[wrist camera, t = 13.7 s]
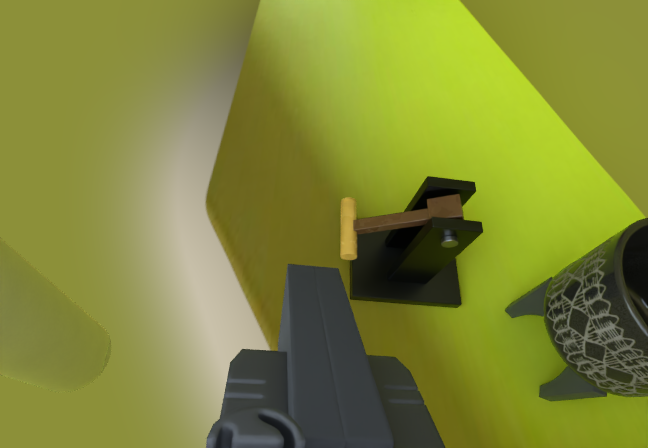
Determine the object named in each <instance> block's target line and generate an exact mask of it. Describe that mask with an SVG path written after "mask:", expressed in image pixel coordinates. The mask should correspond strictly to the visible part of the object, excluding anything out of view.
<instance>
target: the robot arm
mask: <svg viewBox="0 0 648 448" xmlns="http://www.w3.org/2000/svg"><path fill="white" fill-rule="evenodd" d="M206 445H207V446H206V448H445V446H444V443H443V441H442V439H441V437H440V435H439V433H438V431H437V428H436V426H435V424H434V422H433V420H432V418H431V415H430V413H429V411H428V409H427V407H426V405H424V400H423V398H422V396H421V394H420V392H419V391H418V387H417V385H416V383H415V381H414V379H413V377H412V374H411V372H410V371H409V370H408V369H407V368H406V367H405V366H404V365H403V364H402V363H401V362H400V361H399V360H398V359H397V358H396V357H388V356H372V355H366V352H365V349H364V346H363V343H362V340H361V337H360V334H359V331H358V328H357V325H356V322H355V319H354V315H353V312H352V309H351V306H350V303H349V300H348V297H347V294H346V291H345V288H344V285H343V282H342V279H341V276H340V273H339V269H338V268H327V267H316V266H305V265H294V264H288V267H287V275H286V284H285V292H284V300H283V308H282V317H281V325H280V333H279V342H278V351H266V350H250V349H242V350H241V351H240V353H239V354H238V355H237V356H236V357H235V358H234V359H233V360H232V361H231V362H230V367H229V372H228V378H227V383H226V389H225V394H224V399H223V404H222V410H221V415H220V419H219V420H218V421H217V422H215V424H213V426H212V428H211V430H210V433H209V435H208V437H207V444H206Z"/></svg>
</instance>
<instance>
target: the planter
mask: <svg viewBox="0 0 648 448" xmlns="http://www.w3.org/2000/svg"><path fill="white" fill-rule="evenodd" d="M505 311H506V312H507V313H508V314H509V315H510V316H511V317H512V318H514V317H518V316H522V315H540V316H544V322H545V326H546V329H547V332H548V335H549V337H550V340H551V342H552V344H553V346H554V347H555V349H556V351H557V352H558V354H559V355H560V357H561V358H562V359H563V361H564V362H565V363H566V364H567V365H568V366H567V367H566V368H565V370H564V371H563V372H562V373H561V374H560V375H559V376H558V377H556V378H555V379H554V380H552V381H551V382H548V383H546V384H544V385H541V386H540V394H539V397H541V398H544V399H546V400H549V401H560V400H571V399H582V398H594V397H605V396H607V393H610V394H613V395H617V396H623V397H645V396H648V218H645V219H642V220H639V221H636V222H635V223H633V224H631V225H629V226H628V227H626V228H625V229H623V230H622V231H620V232H619V233H617V234H616V235H614V236H613V237H611V238H609V239H608V240H606V241H605V242H603V243H602V244H600V245H599V246H597V247H596V248H594V249H593V250H591V251H590V252H588V253H587V254H585V255H584V256H582V257H581V258H579V259H578V260H576V261H575V262H573V263H572V264H570V265H569V266H567V267H565V268H564V269H562V270H561V271H560V272H559V273H558V274H557V275H555V276H554V278H552V277H550V278H549V279H547V280H546V281H544V282H543V283H541V284H540V285H538V286H537V287H535V288H534V289H532V290H531V291H529V292H528V293H526V294H525V295H523V296H521V297H520V298H518V299H517V300H515V301H514V302H512V303H511V304H510V305H509V306H508V307H507V308H506V309H505Z"/></svg>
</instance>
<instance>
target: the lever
mask: <svg viewBox="0 0 648 448" xmlns="http://www.w3.org/2000/svg"><path fill="white" fill-rule="evenodd" d="M427 206H428V208H427V209H421V210H414V211H408V212H402V213H395V214H389V215H382V216H376V217H370V218H363V219H357V201H356V200H355V199H354V198H349V197H348V198H344V199H342V200H341V235H340V257H341V258H342V259H344V260H354V259H356V258H357V234H364V233H371V232H378V231H385V230H392V229H399V228H406V227H413V226H420V225H425V224H426V223H427V222H428V221H429V219H430V218H431V217H441V218H450V219H459V220H464V217H463V210H462V204H461V199H460V194H456V195H450V196H443V197H437V198H431V199H427Z"/></svg>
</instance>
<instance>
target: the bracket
mask: <svg viewBox="0 0 648 448" xmlns="http://www.w3.org/2000/svg"><path fill="white" fill-rule="evenodd" d="M475 192H476V187H475V182H470V181H462V180H454V179H445V178H437V177H429V176H428V177H427V178H426V179H425V181H424V182H423V184H422V185H421V187H420V188H419V190H418V191H417V193H416V194H415V196H414V197H413V199H412V200H411V202H410V203H409V205H408V206H407V208H406V209H405V211H404V212H408V211H414V210H421V209H427V208H428V206H427V199H431V198H437V197H443V196H450V195H456V194H460V199H461V204H462V206H463V205H464V204H465V203H466V202H467V201H468V200H469V199H470V198H471V196H472V195H473V194H474V193H475ZM482 233H483V228H482V222H478V221H469V220H459V219H450V218H441V217H431V218H430V219H429V221H428V222H427V223H426V224H425V225H420V226H413V227H406V228H399V229H392V230H385V231H378V232H371V233H364V234H357V258H356V259H354V260H350V299H352V300H365V301H377V302H390V303H402V304H415V305H427V306H440V307H452V308H457V307H459V306H460V305H461V297H460V289H459V282H458V274H457V266H456V259H455V257H456V256H457V255H459V254H460V253H461V252H462V251H463V250H464V249H465V248H466V247H467V246H468V245H469V244H471V243H472V242H473V241H474V240H475V239H476V238H477V237H478V236H479V235H480V234H482Z"/></svg>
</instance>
